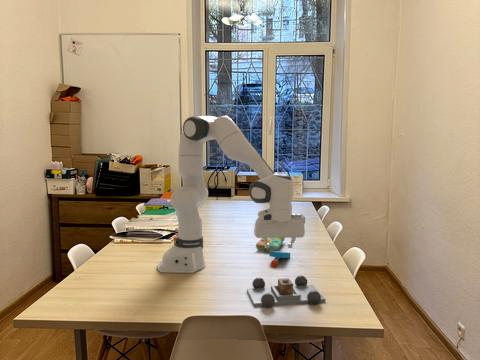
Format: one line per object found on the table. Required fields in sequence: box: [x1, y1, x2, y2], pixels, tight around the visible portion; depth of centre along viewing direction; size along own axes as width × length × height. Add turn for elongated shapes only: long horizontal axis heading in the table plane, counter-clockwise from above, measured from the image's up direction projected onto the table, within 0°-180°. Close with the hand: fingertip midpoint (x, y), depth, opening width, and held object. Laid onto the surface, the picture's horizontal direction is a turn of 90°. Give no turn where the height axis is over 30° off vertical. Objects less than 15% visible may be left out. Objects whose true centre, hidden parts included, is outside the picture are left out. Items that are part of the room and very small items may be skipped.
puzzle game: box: [255, 238, 286, 253], centre depth 232 cm, size 12×5×20 cm
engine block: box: [277, 277, 294, 295], centre depth 166 cm, size 4×6×6 cm
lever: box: [269, 250, 291, 268], centre depth 208 cm, size 7×7×18 cm
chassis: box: [246, 275, 326, 308], centre depth 167 cm, size 28×17×5 cm, turn 100°
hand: (278, 247), depth 170 cm, fingers open, 8 cm apart
